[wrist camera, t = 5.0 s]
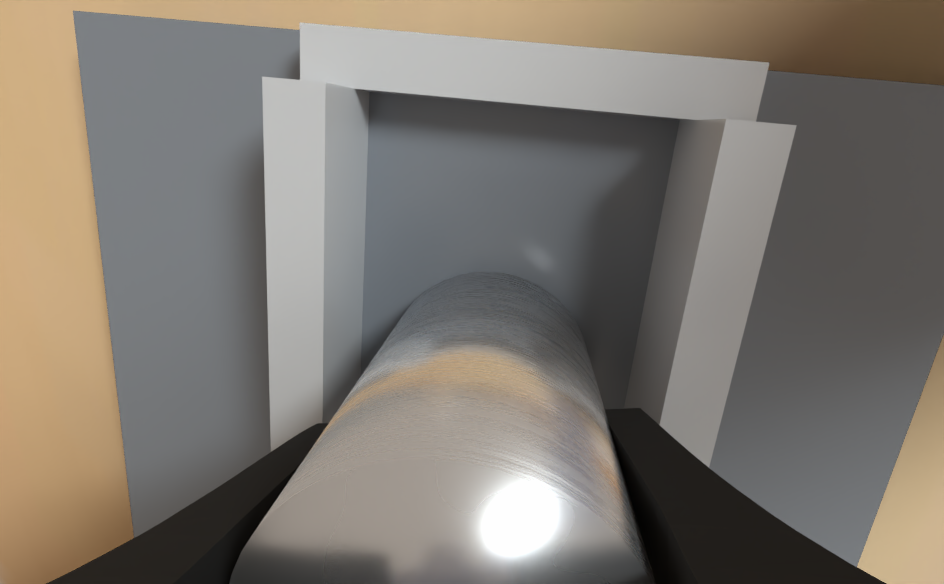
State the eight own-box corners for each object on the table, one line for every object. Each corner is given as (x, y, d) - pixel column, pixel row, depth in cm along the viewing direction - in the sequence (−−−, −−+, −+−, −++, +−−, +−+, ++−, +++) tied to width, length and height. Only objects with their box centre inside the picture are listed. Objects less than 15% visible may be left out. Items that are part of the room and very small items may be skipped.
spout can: (579, 260, 11) (723, 583, 3) (596, 449, 12) (733, 1049, 4) (372, 284, 12) (33, 611, 4) (407, 462, 13) (206, 1017, 5)
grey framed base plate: (979, 96, 11) (1199, 82, 7) (793, 634, 15) (876, 791, 12) (116, 21, 12) (-55, -22, 8) (165, 543, 16) (65, 661, 13)
